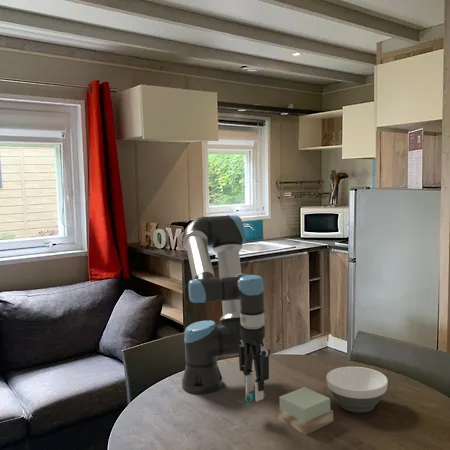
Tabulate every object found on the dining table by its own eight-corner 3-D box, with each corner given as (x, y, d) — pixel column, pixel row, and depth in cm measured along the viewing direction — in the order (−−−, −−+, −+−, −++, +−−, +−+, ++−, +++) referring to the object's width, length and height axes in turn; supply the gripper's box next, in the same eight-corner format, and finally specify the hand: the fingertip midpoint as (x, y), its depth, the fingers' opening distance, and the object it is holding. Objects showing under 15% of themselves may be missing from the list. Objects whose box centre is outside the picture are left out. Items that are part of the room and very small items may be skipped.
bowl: (391, 397, 164) (391, 370, 163) (384, 424, 146) (383, 394, 146) (333, 389, 172) (333, 363, 172) (320, 414, 155) (319, 385, 154)
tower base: (278, 421, 152) (277, 409, 152) (305, 409, 159) (304, 397, 159) (306, 436, 143) (305, 423, 142) (333, 423, 150) (333, 410, 149)
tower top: (279, 409, 152) (279, 396, 151) (304, 398, 158) (304, 386, 158) (305, 422, 143) (304, 409, 143) (330, 410, 149) (330, 398, 149)
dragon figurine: (260, 406, 146) (269, 386, 152) (238, 395, 148) (248, 376, 154) (255, 418, 150) (264, 398, 156) (234, 407, 152) (244, 388, 158)
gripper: (226, 321, 155) (228, 391, 158) (261, 335, 141) (263, 410, 144) (244, 316, 159) (246, 384, 162) (280, 329, 146) (282, 403, 148)
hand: (254, 396), depth 153 cm, fingers closed on dragon figurine, 4 cm apart
